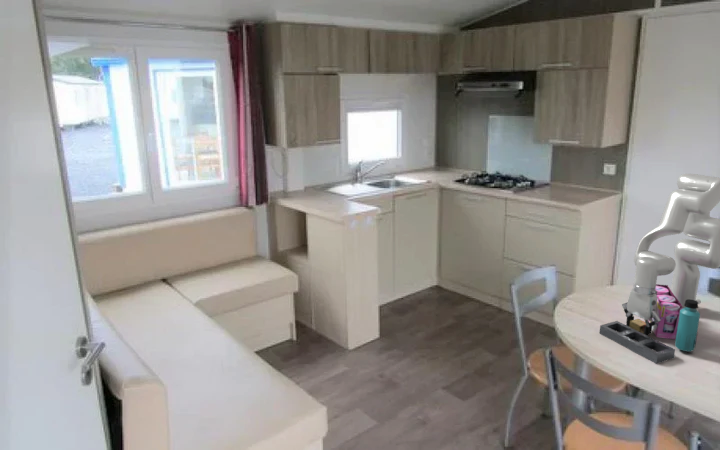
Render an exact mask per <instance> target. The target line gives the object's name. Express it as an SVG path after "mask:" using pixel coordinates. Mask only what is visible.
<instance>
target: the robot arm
mask: <svg viewBox="0 0 720 450" xmlns="http://www.w3.org/2000/svg"><path fill="white" fill-rule="evenodd" d="M676 184H677V188H678V189H674V190H672V191H671V192H670V193H669V195H668V198H667V201H666V203H665V206H664V209H663V212H662V215H661V217H660V221H659V223H658V225H657V226H656V227H654V228H652V229H651V230H649V231H648V232H647V233H645V235H644V236H643V237H642V238H641V239H639V240H640V241H639V243H638V245H637V247H636V251H635V253H634V257H633V263H634V265H635V272H634V279H633V287H632V289H631V290H630V293H629V295H628V299H627V302H625V303H622V304H621V305H622V306H621V307H622V308H623V311H624V313H625V317H626V322H625V323H626V324H625V325H627V326H629V325H630V321H632V320H635V316H636V317H639V318H640V319H643V320H644V322H646V326H645V328H644V334H645V335H647V336H650V335H651V334H652V332H653V330H652V326H654V325H656V324H657V323H659V322H660V321H661V320H660V318H659V317H658V316H657V295H656V294H657V291H656V290H655V289H656V284H657V280H658V277H659V276H667V275H670V274H672V280H671V285H670V289H671V291H672V292H673V294H674V295H675V297H676V298H677V299H678V300H679V302H680V303H681V304H682V307H683V308H685V306H684V304H685V301H686V300H687V299H691V300H695V301H697V302H698V305H700V304H701V303H702V300H701V299H698V298H697V295H698V289H699V283H700V278H701V273H700V272H701V271H700V268H699V266H700V267H704V268H707V269H710V270H711V269H715V270H716V269H718V268H720V218H717V217H712V216H711V215H710V214H711V211H712V210H714V208H715V207H716V206H717V205H718V204H719V203H720V177H718V176H712V175H711V176H710V175H705V174H696V173H682V174H681V175H679V176H678V178H677V183H676ZM682 233H683V234H684V235H685V236H688V237H690V238H694V239H695V240H694V239H689V238H684V239H683V238H681V239H679V240H678V241H677V242H676V243H675V246H674V250H673V251H674V253H673V254H674V258H673V257H672V256H669V255H666V254H661V253H658V252H653V251H650V250H649V249H650V246H651V245H652V244H653V243H654V242H655V241H656V240H658V239H660V238H663V237H667V236H675V235H679V234H682ZM697 239H698V240H697ZM699 240H703V241H699ZM704 241H708V243H707V242H704ZM696 310H697V311H698V312H699V310H698V308H696ZM652 318H654V321H653V319H652ZM649 321H650V323H649Z"/></svg>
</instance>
